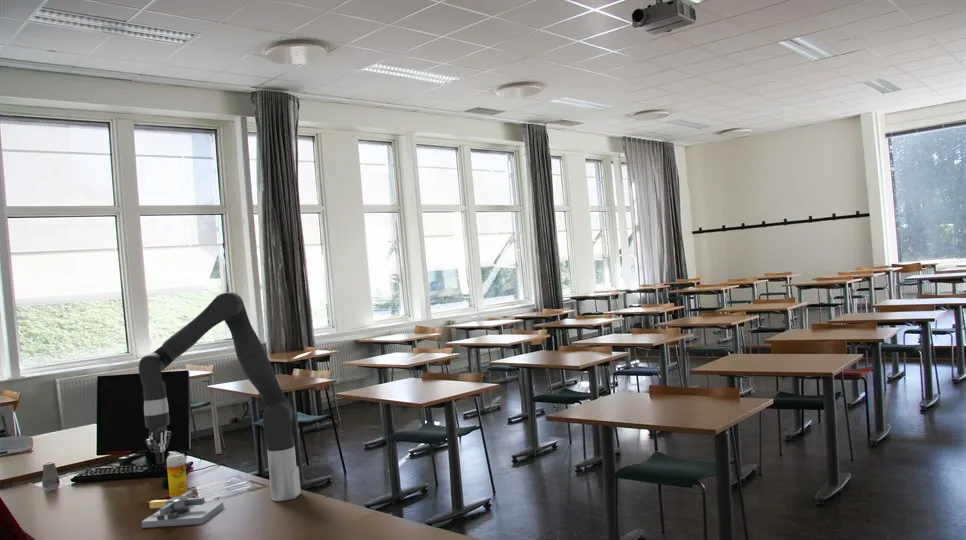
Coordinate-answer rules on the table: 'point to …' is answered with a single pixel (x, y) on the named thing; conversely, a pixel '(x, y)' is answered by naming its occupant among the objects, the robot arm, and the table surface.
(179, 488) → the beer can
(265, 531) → the table surface
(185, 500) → the valve handle
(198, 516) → the stand
